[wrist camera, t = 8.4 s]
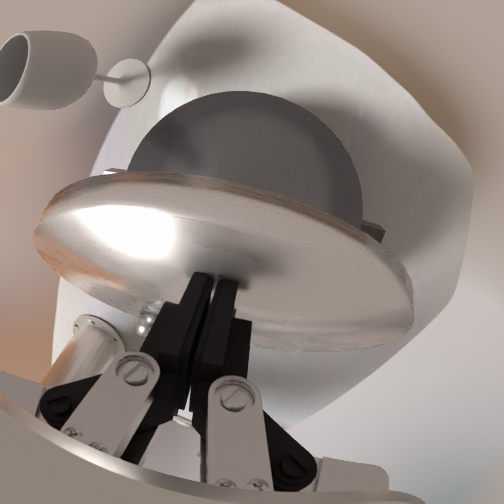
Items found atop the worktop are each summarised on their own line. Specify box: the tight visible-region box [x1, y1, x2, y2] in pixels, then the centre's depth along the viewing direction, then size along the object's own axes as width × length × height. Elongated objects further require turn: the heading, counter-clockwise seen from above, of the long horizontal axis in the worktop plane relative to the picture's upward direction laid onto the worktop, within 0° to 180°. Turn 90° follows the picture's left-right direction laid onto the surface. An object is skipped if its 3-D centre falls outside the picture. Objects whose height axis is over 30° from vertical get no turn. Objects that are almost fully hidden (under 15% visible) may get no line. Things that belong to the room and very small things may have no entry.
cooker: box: [104, 91, 385, 244], centre depth 29 cm, size 22×28×12 cm
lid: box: [33, 172, 414, 352], centre depth 17 cm, size 25×23×4 cm
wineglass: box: [0, 31, 150, 110], centre depth 19 cm, size 8×8×21 cm
